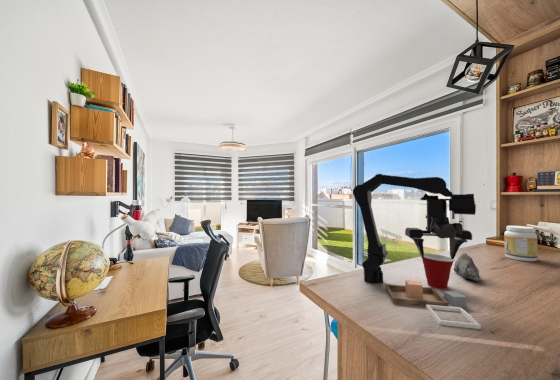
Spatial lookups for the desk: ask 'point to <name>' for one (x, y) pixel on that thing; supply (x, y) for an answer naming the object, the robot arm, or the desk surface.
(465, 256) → the mineral rock
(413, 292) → the terracotta block
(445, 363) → the desk surface
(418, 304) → the walnut box
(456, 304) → the slate rubber block
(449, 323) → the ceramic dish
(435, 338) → the desk surface
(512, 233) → the supplement tub
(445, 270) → the plastic cup
